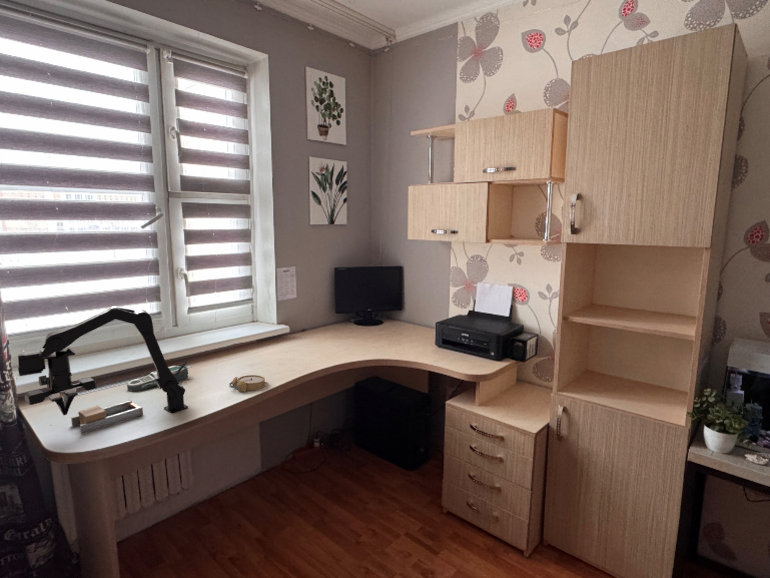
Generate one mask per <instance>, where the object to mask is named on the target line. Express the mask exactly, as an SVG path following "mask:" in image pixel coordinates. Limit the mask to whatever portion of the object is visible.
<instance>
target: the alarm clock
mask: <svg viewBox="0 0 770 578" xmlns="http://www.w3.org/2000/svg"><path fill="white" fill-rule="evenodd" d="M265 379H266V378H265V377H264V376H261V375H256V374H251V375H250V374H247V375H242V376H240V377H238V376H235V377H234V378H233V379H232V380H231V381H230V383H228V386H229V388H231V389H235V390H236V389H237V391H238V392H241V393H244V392H246V391H258V390H262V389H263V388H264V387H265V384H268V382H267V381H266V380H265ZM265 381H266V382H265Z"/></svg>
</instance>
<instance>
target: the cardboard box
mask: <svg viewBox="0 0 770 578" xmlns="http://www.w3.org/2000/svg"><path fill="white" fill-rule="evenodd" d="M77 414H78V415H79V420H80V425H82V424H85V423H89V422H92V421H95V420H99V419H102V418H105V417H107V416H106V411H105V410H103V409H102V407H101V406H99V405H96V406H92V407H89V408H85V409H82V410H78V413H77ZM80 425H79V426H80Z"/></svg>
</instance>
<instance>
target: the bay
mask: <svg viewBox="0 0 770 578" xmlns="http://www.w3.org/2000/svg"><path fill="white" fill-rule="evenodd" d="M101 408H102V407H101ZM102 409H103V410H105V411H106V417H105V418H102V419H99V420H95V421H92V422H89V423H85V424H82V425H80V420H79V414H78V415H75V416H72V417H70V420H71V427H75V426H76V427H77V426H79V427H80V434H81V435H85V434H88V433H90V432H91V433H92V432H93V431H97V430H101V429H104V428H107V427H110V426H113V425H117V424H120V423H123V422H126V421H129V420H132V419H135V418H138V417H141V416H143V415H144V411H143V410H144V409H143V406H139V405H138V404H136V403H134V402H133V400H131V399H130V400H128V401H124V402H121V403H117V404H113V405H110V406H106V407H103V408H102Z"/></svg>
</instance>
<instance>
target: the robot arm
mask: <svg viewBox="0 0 770 578" xmlns="http://www.w3.org/2000/svg"><path fill="white" fill-rule="evenodd" d="M152 318H153V317H152V316H151V314H149V312H148V311H146V309H145V310H144V309H136V310H134V309H129V308H124V307H119V306H116V305H113V306H110V307H109V308H107V309H106V310H103V311H102V312H99V313H97V314H95V315H93V316H90V317H88V318H87V319H85V320H82V321H81V322H78V323H77V324H74V325H71V326H68V327H63V328H60V329H59V328H58V329H57V330H53V331H50V332H49V333H48V334H47V335H46V336H45V339H44V340H45V341H44V344H43V345H42V347H40V350H39V351H38V352H33V353H19V354H18V356H17V358H18V359H17V360H18V366H17V370H18V375H19V377H25V376H31V375H37V374H42V373H43V372H44V370H46V368H47V367H48V369H47V370H48V376H47V375H41V376H38V384H39V386H40V387H43V386H46V388H48V389H50V390H48V389H47V390H44V391H43V390H41V389H40V388H39V389H34V390H31V391H26V392H25V394H24V400H25V402H26V403H27V404H28V405H29V406H33V405H37V404H40V403H43V402H44V401H45V399H46V398H47V399H48V400H49V401H50V402H53V403H55V404H56V405H57V407H58V408H59V410H60V412H61V413H62V415H63V416H67V415H68V412H69V410H70V407H71V404H72V402H73V401H74V399H75V397H76V396H78V395H79V393H78V392H77V390H79V389H83V390H85V391H91V390H96V389H97V385H98V384H97V381H96V380H94V379H93V378H91V377H85V378H81V379H77V383H73V382H72V381H73V380H72V372H71V365H70V363H71V362H70V356H75V355H76V352H75V351H76V350H74V349H72V348H71V347H70V345H73V343H74V342H76V340H78V339H80V338H81V337H82V336H85V335H86V334H89V333H90V332H92V331H95V330H96V329H99V328H101V327H103V326H105V325H106V324H108V323H111V322H113V321H115V320H117V321H121V322H125V323H127V324H132V325H134V326H135V328H136V329H137V331H138V332H139V334H140V335H141V337H142V339H143V341H144V344H145V346H146V347H147V351H148V353H149V356H150V357H151V359H152V363H153V364H154V365H153V366H154V367H155V371H157V374H155V375H153V376H154V378H155V379H156V384H157V387H158V389H159V390H162V391H163V392H164V393H166V404H167V405H166V406H163V410H165V411H167V412H168V413H170V414H173V413H176V412H180V411H182V410H185V409H189V406H188V405H186V404H185V399H184V395H185V394H186V389H185V387H184V386H183V385H182V383H181V382H180V381H177V379H176V378H175V377H174V375H173V374H172V372H171V371H170V369H169V368H168V367H169V366H168V364H167V362H166V359H165V357H164V354H163V352H162V349H161V347H160V345H159V342H158V341H157V338H156V335H155V332H154V324H153V319H152ZM46 360H47V367H46ZM61 394H62V396H61Z"/></svg>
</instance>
